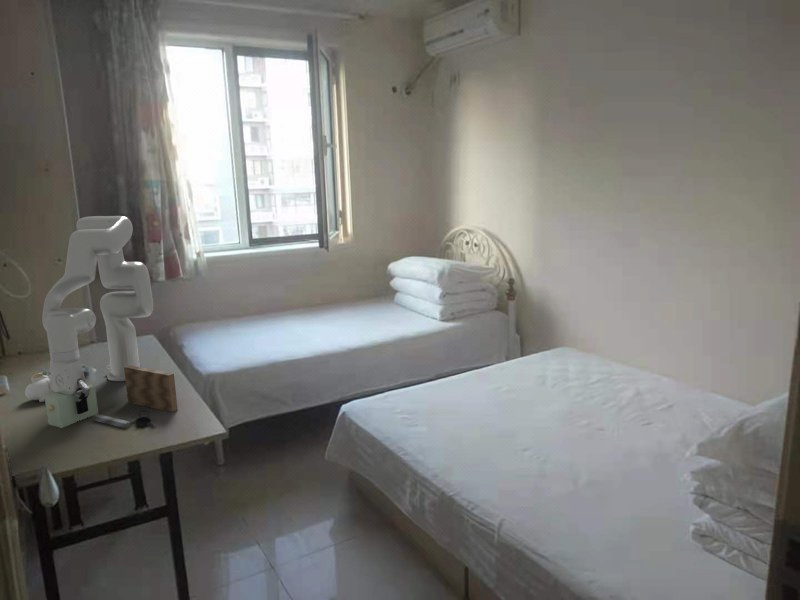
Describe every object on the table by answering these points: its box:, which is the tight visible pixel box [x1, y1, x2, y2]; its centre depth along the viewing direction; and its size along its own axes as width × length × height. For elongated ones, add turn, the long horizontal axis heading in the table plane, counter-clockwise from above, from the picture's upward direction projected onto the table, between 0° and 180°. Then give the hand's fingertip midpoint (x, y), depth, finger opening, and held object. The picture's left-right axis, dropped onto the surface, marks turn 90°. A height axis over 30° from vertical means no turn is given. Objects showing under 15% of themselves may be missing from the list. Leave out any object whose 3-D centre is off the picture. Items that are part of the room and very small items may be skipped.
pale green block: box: [44, 383, 99, 429], centre depth 176 cm, size 6×13×9 cm, turn 154°
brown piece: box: [92, 365, 178, 429], centre depth 178 cm, size 20×16×12 cm
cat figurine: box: [24, 371, 54, 403], centre depth 195 cm, size 10×8×15 cm
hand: (72, 410), depth 176 cm, fingers open, 8 cm apart
